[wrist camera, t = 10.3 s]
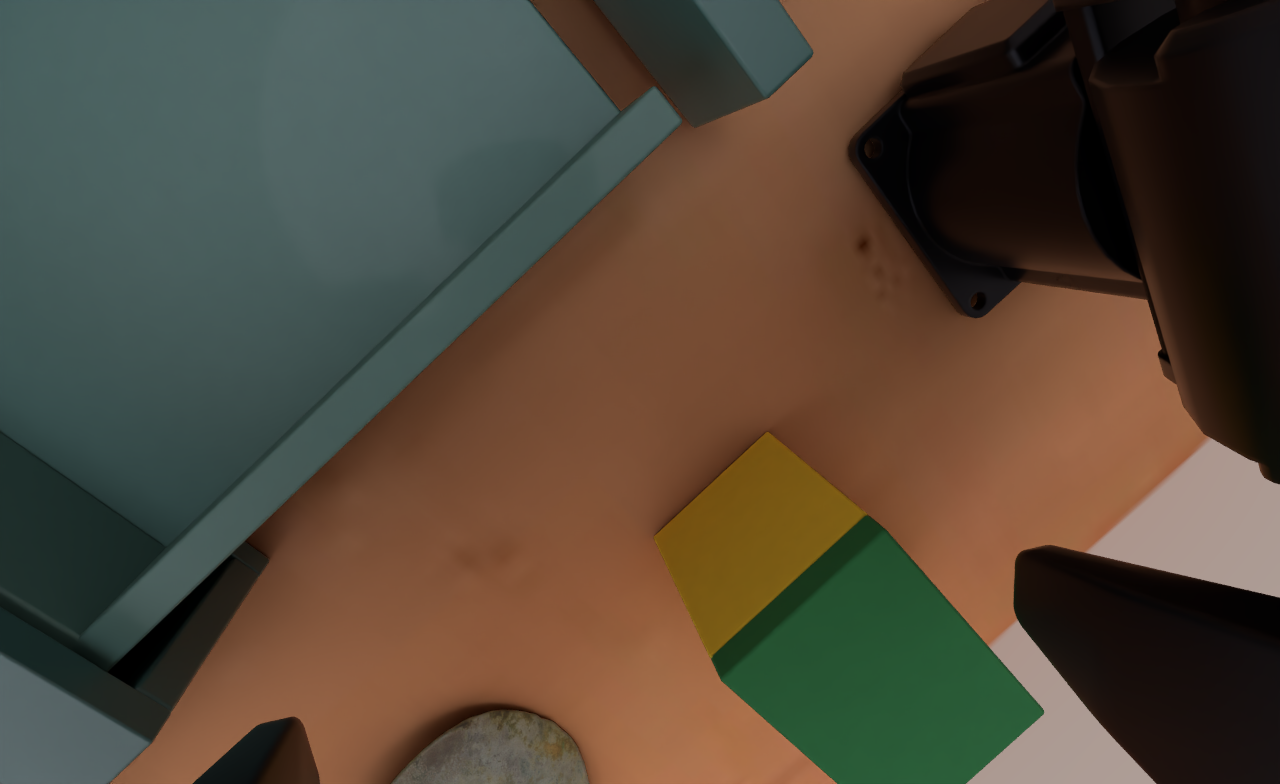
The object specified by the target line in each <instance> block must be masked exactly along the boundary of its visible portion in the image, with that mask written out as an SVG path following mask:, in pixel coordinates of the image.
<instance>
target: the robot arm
mask: <svg viewBox="0 0 1280 784" xmlns="http://www.w3.org/2000/svg"><path fill="white" fill-rule="evenodd" d="M900 86H901V88H902V89H903V90H902V91H901V92H900V93H898V94H897V95H896V96H895V97H894V98H893V99H892V100H891V101H890V102H889V103H888V104H887V105H886V106H885V107H884V108H883V109H882V110H880V111H879V112H878V113H877V114H876V115H875V116H874V117H873V118H872V119H871V120H870V121H869V122H868V123H867V124H866V125H865V126H863V127H862V128H861V129H860V130H859V131H858V132H857V133H856V134H855V135H854V137H853V138H852V139H851V141H850V144H849V148H848V151H849V157H850V160H851V162H852V164H853V165H854V166H855V168H856V169H857V171H858V172H859V173H860V175H861V176H862V178H863V179H864V181H865V182H866V183H867V185H868V186H869V188H870V189H871V190H872V192H873V193H874V195H875V196H876V198H877V199H878V200H879V202H880V203H881V205H882V206H883V207H884V209H885V210H886V212H887V213H888V214H889V216H890V217H891V219H892V220H893V222H894V223H895V224H896V226H897V227H898V229H899V230H900V231H901V233H902V234H903V236H904V237H905V239H906V240H907V241H908V243H909V244H910V246H911V247H912V248H913V250H914V251H915V253H916V254H917V256H918V257H919V258H920V260H921V261H922V263H923V264H924V265H925V267H926V268H927V270H928V271H929V272H930V274H931V275H932V277H933V278H934V280H935V281H936V282H937V284H938V285H939V287H940V288H941V289H942V291H943V292H944V294H945V295H946V297H947V298H948V299H949V301H950V302H951V304H952V305H953V306H954V308H955V309H956V311H957V312H958V313H960V314H961V315H964V316H968V317H972V318H980V317H983V316H984V315H986V314H987V313H988V312H989V311H990V310H992V309H993V308H994V307H995V306H996V305H997V304H998V303H999V302H1000V301H1001V300H1002V299H1003V298H1005V297H1006V296H1007V295H1008V294H1009V293H1010V292H1011V291H1012V290H1013V289H1014V288H1015V287H1016V286H1018V285H1019V284H1020V283H1021V282H1025V283H1032V284H1039V285H1047V286H1054V287H1061V288H1068V289H1075V290H1082V291H1089V292H1096V293H1103V294H1111V295H1118V296H1125V297H1132V298H1139V299H1146V300H1148V303H1149V307H1150V310H1151V314H1152V317H1153V320H1154V324H1155V327H1156V331H1157V334H1158V337H1159V341H1160V344H1161V348H1162V349H1161V350H1160V351H1159V352H1158V357H1159V361H1160V364H1161V367H1162V371H1163V374H1164V376H1165V377H1166V378H1168V379H1169V380H1171V381H1172V382H1174V383H1175V384H1177V387H1178V390H1179V393H1180V397H1181V400H1182V404H1183V406H1184V408H1185V409H1186V411H1187V412H1188V413H1189V415H1190V416H1191V417H1192V419H1193V420H1194V421H1195V423H1196V424H1197V425H1198V427H1199V428H1200V429H1201V431H1202V432H1203V434H1205V435H1207V436H1208V437H1210V438H1212V439H1214V440H1216V441H1217V442H1219V443H1221V444H1222V445H1224V446H1226V447H1228V448H1230V449H1231V450H1233V451H1235V452H1237V453H1238V454H1240V455H1242V456H1244V457H1246V458H1247V459H1249V460H1252V461H1255V462H1258V463H1259V468H1260V471H1261V473H1262V475H1263V476H1264V478H1266V479H1268V480H1269V481H1272V482H1273V483H1277V484H1280V0H989V1H987V2H985V3H982V4H980V5H978V6H975V7H973V8H972V9H970V10H969V11H968V12H967V13H966V14H965V15H964V16H963V17H962V18H961V19H960V20H959V21H958V22H957V23H955V24H954V25H953V26H952V27H951V28H950V29H949V30H948V31H947V32H946V33H945V34H944V35H943V36H942V37H941V38H940V39H939V40H937V41H936V42H935V43H934V44H933V45H932V46H931V47H930V48H929V49H928V50H927V51H926V52H925V53H924V54H923V55H922V56H921V57H919V58H918V59H917V60H916V61H915V62H914V63H913V64H912V65H911V66H910V67H909V68H908V69H907V70H906V71H905V72H904V73H903V76H902V80H901V84H900ZM868 140H870V141H871V142H873V145H874V153H873V155H872V156H871V157H870V158H869V157H868V156H866V154H865V151H864V148H865V144H866V142H867V141H868ZM974 294H977V302H976V303H975V305H974V306H971V298H972V297H973V295H974ZM1014 611H1015V614H1016V617H1017V619H1018V621H1019V623H1020V624H1021V626H1022V627H1023V629H1024V630H1025V631H1026V632H1027V634H1028V635H1029V636H1030V637H1031V639H1032V640H1033V641H1034V642H1035V643H1036V645H1037V646H1038V647H1039V648H1040V650H1041V651H1042V652H1043V653H1044V655H1045V656H1046V657H1047V658H1048V660H1049V661H1050V662H1051V663H1052V665H1053V666H1054V667H1055V668H1056V670H1057V671H1058V672H1059V673H1060V675H1061V676H1062V677H1063V678H1064V680H1065V681H1066V682H1067V683H1068V685H1069V686H1070V687H1071V688H1072V690H1073V691H1074V692H1075V693H1076V695H1077V696H1078V697H1079V698H1080V700H1081V701H1082V702H1083V703H1084V705H1085V706H1086V707H1087V708H1088V710H1089V711H1090V712H1091V713H1092V714H1093V716H1094V717H1095V718H1096V719H1097V720H1098V721H1099V723H1100V724H1101V725H1102V726H1103V727H1104V728H1105V729H1106V730H1107V732H1108V733H1109V734H1110V735H1111V736H1112V737H1113V738H1114V739H1115V740H1116V742H1118V744H1119V745H1120V746H1121V747H1122V748H1123V749H1124V750H1125V751H1126V752H1127V753H1128V754H1129V755H1130V756H1131V757H1132V758H1133V759H1134V760H1135V761H1136V763H1137V764H1138V765H1139V766H1140V767H1141V768H1142V769H1143V770H1144V771H1145V772H1146V773H1147V774H1148V775H1149V776H1150V777H1151V778H1152V779H1153V781H1154V782H1155V783H1156V784H1280V598H1279V597H1275V596H1270V595H1266V594H1262V593H1257V592H1252V591H1249V590H1244V589H1240V588H1235V587H1231V586H1227V585H1222V584H1218V583H1214V582H1209V581H1205V580H1201V579H1196V578H1192V577H1188V576H1183V575H1179V574H1174V573H1170V572H1166V571H1162V570H1157V569H1153V568H1149V567H1144V566H1140V565H1135V564H1131V563H1126V562H1122V561H1118V560H1114V559H1110V558H1105V557H1101V556H1097V555H1092V554H1088V553H1084V552H1079V551H1075V550H1070V549H1066V548H1062V547H1057V546H1053V545H1045V546H1040V547H1036V548H1032V549H1027V550H1023V551H1022V552H1020V553H1019V554H1018V556H1017V558H1016V561H1015V579H1014ZM193 784H320V780H319V774H318V770H317V767H316V764H315V761H314V757H313V754H312V751H311V748H310V744H309V741H308V738H307V734H306V731H305V728H304V726H303V724H302V722H301V721H300V719H298V718H296V717H288V718H284V719H279V720H275V721H270V722H266V723H262V724H259V725H258V726H256V727H255V728H253V729H252V730H251V731H250V732H249V733H248V734H247V735H246V736H245V737H243V738H242V739H241V740H240V741H239V742H238V743H237V744H236V745H235V746H233V747H232V748H231V749H230V750H229V751H228V752H227V753H226V754H225V755H224V756H222V757H221V758H220V759H219V760H218V761H217V762H216V763H215V764H214V765H213V766H211V767H210V768H209V769H208V770H207V771H206V772H205V773H204V774H203V775H202V776H200V777H199V778H198V779H197V780H196V781H195V782H194V783H193Z"/></svg>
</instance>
